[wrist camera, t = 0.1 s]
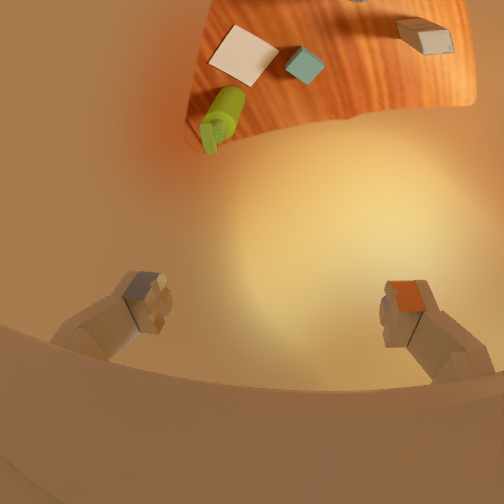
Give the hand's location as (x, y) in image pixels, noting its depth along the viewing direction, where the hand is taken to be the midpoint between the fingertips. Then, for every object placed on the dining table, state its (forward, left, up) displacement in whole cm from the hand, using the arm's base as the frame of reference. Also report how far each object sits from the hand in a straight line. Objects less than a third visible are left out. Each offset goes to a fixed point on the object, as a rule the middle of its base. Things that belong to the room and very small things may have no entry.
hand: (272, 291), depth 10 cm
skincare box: (-18, +16, -52) cm, 57 cm away
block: (+3, +6, -52) cm, 53 cm away
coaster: (+9, -4, -52) cm, 53 cm away
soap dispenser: (+19, -1, -52) cm, 55 cm away
